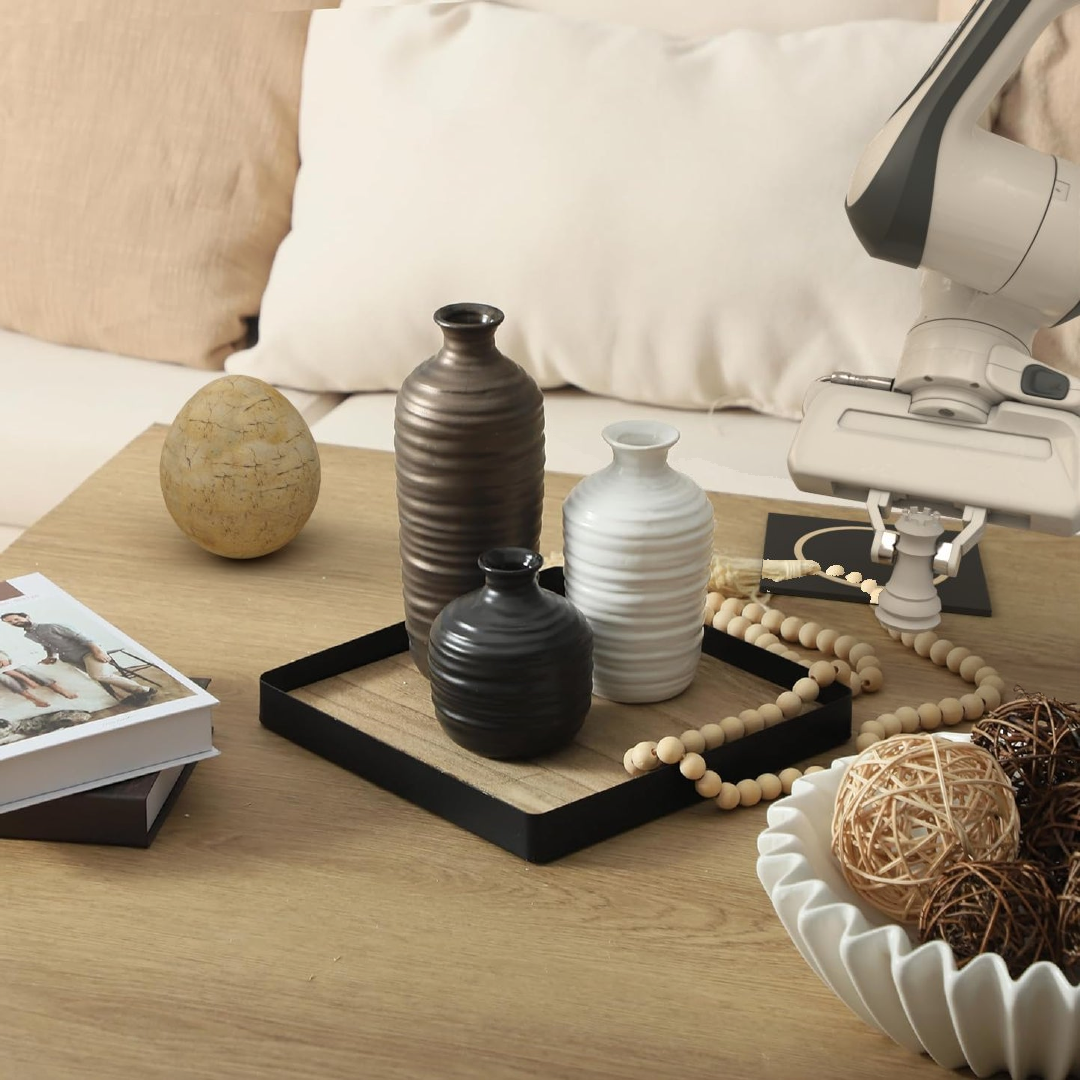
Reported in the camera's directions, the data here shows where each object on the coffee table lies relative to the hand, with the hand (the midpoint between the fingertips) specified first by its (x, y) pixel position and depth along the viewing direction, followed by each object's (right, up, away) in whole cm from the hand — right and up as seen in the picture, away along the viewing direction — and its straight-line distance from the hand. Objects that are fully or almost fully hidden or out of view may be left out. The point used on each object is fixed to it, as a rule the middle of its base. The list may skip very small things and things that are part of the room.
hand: (913, 566), depth 99 cm
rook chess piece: (0, -4, +2) cm, 5 cm away
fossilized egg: (-49, +1, +23) cm, 54 cm away
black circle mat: (+3, 0, +25) cm, 25 cm away
